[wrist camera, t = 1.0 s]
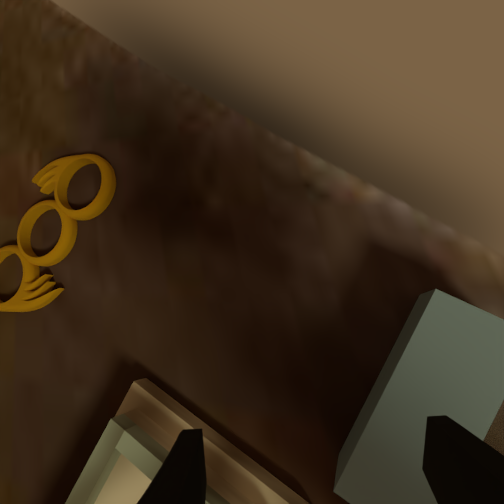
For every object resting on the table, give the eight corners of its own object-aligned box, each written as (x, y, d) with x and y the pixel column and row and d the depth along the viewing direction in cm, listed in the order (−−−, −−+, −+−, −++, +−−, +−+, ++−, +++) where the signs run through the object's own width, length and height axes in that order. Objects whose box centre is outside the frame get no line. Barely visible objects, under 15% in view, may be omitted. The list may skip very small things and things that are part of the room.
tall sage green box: (494, 330, 20) (535, 334, 16) (409, 500, 20) (425, 557, 15) (419, 294, 22) (435, 288, 17) (338, 453, 22) (333, 491, 17)
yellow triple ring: (145, 197, 29) (82, 135, 33) (134, 191, 28) (69, 126, 31) (24, 341, 30) (-25, 267, 34) (7, 343, 29) (-42, 264, 32)
